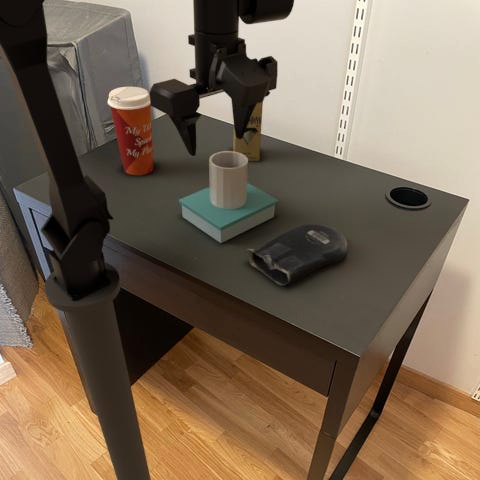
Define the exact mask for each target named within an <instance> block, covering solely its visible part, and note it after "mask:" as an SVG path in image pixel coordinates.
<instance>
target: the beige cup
mask: <svg viewBox="0 0 480 480" xmlns="http://www.w3.org/2000/svg"><path fill="white" fill-rule="evenodd" d="M208 170H209V171H208V173H209V187H210V201H211V203H212V204H213V205H214V206H216V207H218V208H221V209H236V208H239V207H241V206H243V205H244V204H245V203H246V198H247V183H248V176H249V175H248V174H249V173H248V172H249V161H248V158H247V157H246V156H245V155H243V154H241V153H238V152H234V151H233V150H223V151H218V152H215V153H213V154H212V155H210V156H209V160H208Z"/></svg>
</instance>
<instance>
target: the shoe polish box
mask: <svg viewBox="0 0 480 480" xmlns="http://www.w3.org/2000/svg"><path fill="white" fill-rule="evenodd" d="M263 105H264V101H263V102H261V103H257V104H256V106H255V108H254V110H253V113H252V115H251V118H250V120H249V123H248V125H247V128H246V131H245V133H244V136H243V138H242V139H238V138H237V137H236V134H235V129H234V128H233V144H232V145H233V148H232V149H233V150H232V151H234V152H238V153H241V154H243V155H245V156H246V157H247V158H248V162H259V161H260V157H261V156H260V155H261V139H262V123H263Z"/></svg>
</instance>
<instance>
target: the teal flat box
mask: <svg viewBox="0 0 480 480" xmlns="http://www.w3.org/2000/svg"><path fill="white" fill-rule="evenodd" d="M178 203H179V205H181V213H182V218H184V219H185V220H186V221H188V222H189V223H190V224H192V225H194V226H195V227H196V228H198V229H199V230H201V231H202V232H204V233H205V234H207V235H208V236H210V237H211V238H212V239H214V240H215V241H216V242H217V243H220V244H223V243H224V242H226V241H228V240H230V239H233V238H234V237H236V236H239V235H241V234H243V233H245V232H246V231H249V230H250V229H252V228H255V227H256V226H259V225H261V224H263V223H264V222H267V221H269V220H271V219H273V218H275V210H276V209H275V208H276V205H278V203H279V200H278V199H277V198H275V197H273V196H272V195H270V194H268V193H266V192H264V191H263V190H260V188H258V187H256V186H254V185H252V184H250V183H249V182H247V198H246V203H245V204H244V205H243V206H241V207H239V208H236V209H221V208H218V207H216V206H214V205H213V204H212V203H211V201H210V186H209V187H206V188H203V189H201V190H198V191H196V192H194V193H192V194H189V195H187V196H184V197H182V198H180V199H178Z"/></svg>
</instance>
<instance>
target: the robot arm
mask: <svg viewBox="0 0 480 480" xmlns="http://www.w3.org/2000/svg"><path fill="white" fill-rule="evenodd" d="M45 1H46V0H0V58H1V59H2V61H3V63H4V64H5V67H6V69H7V71H8V74H9V77H10V79H11V81H12V82H11V83H12V84H13V86H14V89H15V92H16V95H17V98H18V100H19V103H20V105H21V108H22V111H23V113H24V115H25V118H26V121H27V124H28V126H29V129H30V133H31V134H32V137H33V140H34V142H35V145H36V148H37V150H38V152H39V155H40V158H41V160H42V163H43V165H44V168H45V171H46V173H47V176H48V181H49V184H48V186H49V187H48V197H49V202H50V208H51V213H50V214H49V216H48V217H47V219H46V221H45V222H44V223H43V225H42V226H41V228H40V232H41V234H42V235H43V237H44V238H45V240H46V241H47V243H48V244H49V245H50V247H51V248H52V250H50V251H48V255H49V259H50V262H51V265H52V268H53V271H54V272H55V275H56V276H55V277H53V281H54V282H55V283H56V284H57V286H58V287H59V288H60V289H61V290H62V291H63V292H64V293H65V294H66V295H67V296H68V297H69V298H70V299H71V300H72V301H76V300H79V299H81V298H83V297H85V296H87V295H89V294H91V293H93V292H95V291H97V290H99V289H101V288H103V287H106V286H108V285H110V284H111V280H110V279H109V278H108V277H107V276H106V275H105V274H107V269H106V264H105V262H106V260H105V256H104V255H105V254H104V252H103V247H104V242H105V239H106V237H107V236H108V235H109V234H110V232H111V224H110V223H111V222H110V221H113V220H114V217H113V215H111V213H110V211H109V208H108V200H107V196H106V192H105V191H103V189H102V187H100V186H99V185H98V184H97V183H96V182H95V181H94V180H93V179H92V178H91V176H90V175H89V174H86V175H84V174H83V170H82V167H81V165H80V161H79V158H78V154H77V153H76V149H75V145H74V142H73V139H72V136H71V133H70V130H69V127H68V123H67V121H66V117H65V115H64V112H63V109H62V108H63V107H62V105H61V101H60V99H59V96H58V93H57V89H56V87H55V86H56V85H55V83H54V81H53V77H52V75H51V70H50V69H49V64H48V43H49V41H48V40H49V39H48V38H49V35H48V29H47V23H46V15H45V10H44V2H45ZM192 2H193V3H192V4H193V34H188V35H187V44H188V45H190V46H193V47H194V67H193V68H189V70H188V71H189V78H190V79H193V80H195V83H192V84H188V83H185V82H183V81H180V80H179V79H177V78H172V79H171V78H170V79H167V80H163V81H159V82H154V83H153V84H152V86H151V87H150V90H149V92H148V93H149V96H150V105H151V108H155V109H156V110H157V111H159V112H161V113H163V114H166V115H168V118H170V120H171V122H172V123H173V125H174V126H175V128H176V131H177V133H178V134H179V136H180V138H181V141H182V142H183V144H184V146H185V148H186V150H187V152H188V155H190V156H191V157H195V156H196V154H197V122H198V120H199V118H201V117H202V113H201V112H199V111H198V110H199V108H200V106H201V105H200V104H201V103H200V102H201V101H200V99H204V98H208V97H211V96H214V95H217V94H222V93H225V94H226V95H227V96H228V97H229V98H230V99H231V100H230V101H231V109H232V110H231V111H232V119H233V130H234V129H235V134H236V137H237V138H238V139H242V138H243V136H244V133H245V131H246V128H247V125H248V123H249V120H250V118H251V115H252V113H253V110H254V108H255V106H256V104H257V103H261V102H263V103H264V100H265V98H266V97H268V96H270V94H271V91H273V90H276V89H277V85H278V69H279V68H278V60H276V59H275V57H274V56H272V55H267V56H264V57H261V58H260V59H258V58H257V57H256V58H250V57H249V56H248V54H247V44H246V39H244V38H242V37H239V31H240V20H241V22H243V23H244V25H255V24H263V23H269V22H276V21H282V20H285V19H287V18H288V17H289V16H290V15H291V13H292V11H293V8H294V4H295V0H192Z"/></svg>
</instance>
